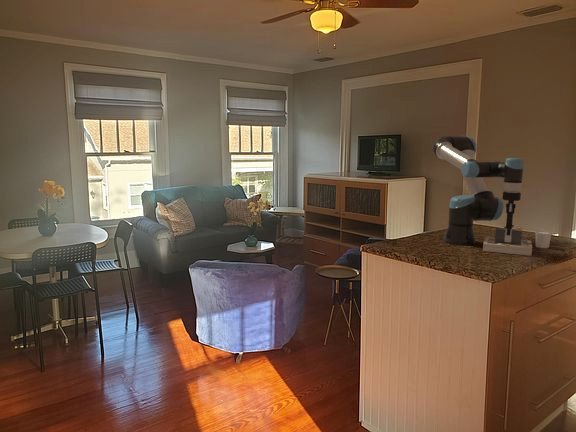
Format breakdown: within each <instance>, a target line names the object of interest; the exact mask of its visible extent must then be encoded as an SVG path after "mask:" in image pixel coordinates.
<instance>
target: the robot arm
mask: <svg viewBox="0 0 576 432" xmlns="http://www.w3.org/2000/svg"><path fill="white" fill-rule="evenodd" d="M431 148H432V152H433V154H434V156H435V157H437V158H438V159H440V160H445V161H447V162H448V163H450V164H451V165H453V166H455V167H456V168H458V169H460V172H461V175H462V177H463V180H464V182H465V185H466V186H467V189H468V191H469V194H465V195H464V194H463V195H454V196H453V197H451V198H450V201H449V206H448V207H449V208H448V209H449V211H448V224H447V228H446V231H445V233H444V236H443V241H444V242H445V243H449V244H453V245H461V246H462V245H468V246H469V245H475V244H476V241H477V238H476V234H475V230H474V222H478V221H479V222H481V221H482V222H483V221H484V222H485V221H487V222H491V221H498V220H499V219H500V217H502V215H503V212H504V202H503V201H508V202H507V203H506V204H505V208H506V209H505V210H506V211H505V213H506V220H505V221H506V222H505V224H506V225H505V226H504V227H503V228H505V241H504V242H511V235H512V229H513V228H514V225H513V217H514V214H515V210H516V203H515V202H519V201H520V200H521V199H522V198H521V197H522V187H524V185H523V184H522V182H523V174H524V168H525V167H524V159H523V158H521V157H520V158H519V157H507V158H505V161H500V160H493V161H478V160H477V159H475V158H474V157H475V156H476V155H475V154H476V153H477V143H476V141H475V140H474V138H473V137H472V136H469V135H468V136H467V135H460V136H455V135H453V136H452V135H444V136H440V137H437V139H435V141H434V142H433V144H432V147H431ZM484 178H502V179H503V186H502V188H503V189H502V190H503V192H502V199H501V198H500V197H495V194H494V192H493V191H492V190H490V189H488V186H487V185H486V183H485V181H484Z"/></svg>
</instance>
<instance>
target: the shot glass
mask: <svg viewBox="0 0 576 432" xmlns="http://www.w3.org/2000/svg"><path fill="white" fill-rule="evenodd" d="M551 238H552V233H551V232H547V231H535V239H534V240H535V247H536V248H540V249H549V248H550V243H551Z"/></svg>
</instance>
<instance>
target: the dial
mask: <svg viewBox="0 0 576 432" xmlns="http://www.w3.org/2000/svg"><path fill="white" fill-rule="evenodd" d="M505 229H506V228H504V227H503V228H501V227H495V233H494V235H495V241H494V244H500V245H506V244H509V245H511V246H522V244H521V240H522V234H523V233H522V232H523V228H521V227H517V228H515V229H513V228H512V235H511V242H504V241H505Z"/></svg>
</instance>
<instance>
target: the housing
mask: <svg viewBox="0 0 576 432" xmlns="http://www.w3.org/2000/svg"><path fill="white" fill-rule="evenodd" d="M494 241H495V237H494V236H485V237H484V241H483V245H482V251H483V252H489V253H501V254H508V255H509V254H510V255H518V256H527V257H528V256H529V257H532V253H533V243H532V240H530V239H529V240H528V239H521V244H522V246H511V245H509V244H506V245H500V244H494Z"/></svg>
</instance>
